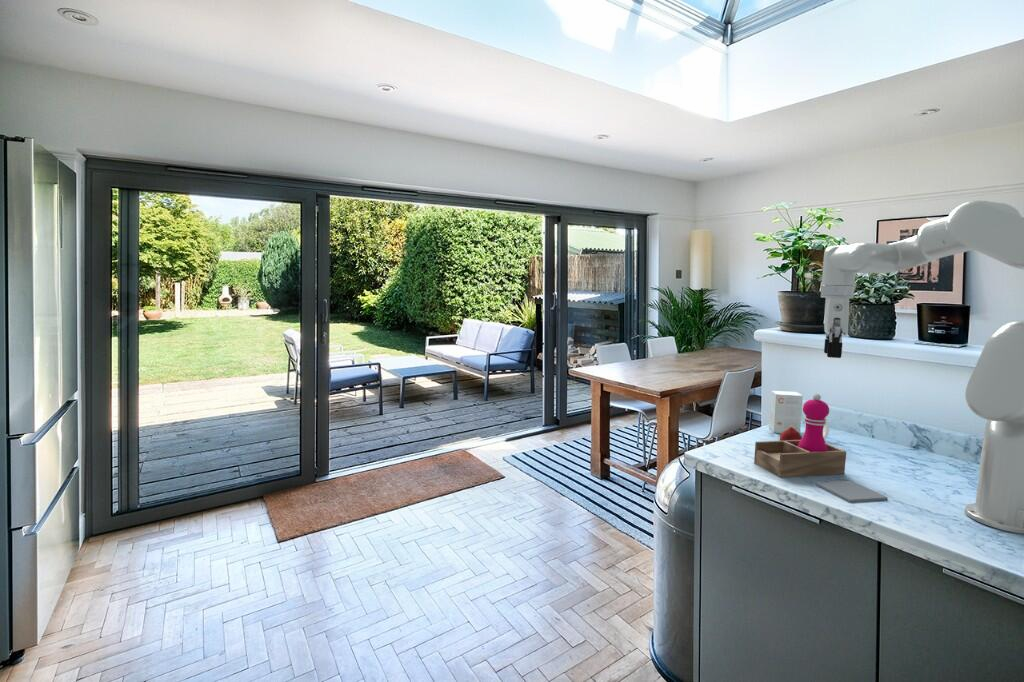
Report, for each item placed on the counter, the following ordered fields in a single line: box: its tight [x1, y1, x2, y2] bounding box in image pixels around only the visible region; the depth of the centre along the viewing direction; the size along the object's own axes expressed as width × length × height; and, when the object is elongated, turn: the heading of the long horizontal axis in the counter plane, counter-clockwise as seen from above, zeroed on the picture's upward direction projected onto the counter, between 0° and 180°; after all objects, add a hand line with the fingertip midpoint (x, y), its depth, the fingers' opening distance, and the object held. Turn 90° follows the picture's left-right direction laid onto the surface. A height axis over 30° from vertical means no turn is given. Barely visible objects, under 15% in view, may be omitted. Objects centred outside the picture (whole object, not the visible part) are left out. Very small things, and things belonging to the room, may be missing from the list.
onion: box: [779, 426, 803, 441], centre depth 150 cm, size 6×6×8 cm
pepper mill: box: [798, 393, 830, 452], centre depth 137 cm, size 7×7×20 cm
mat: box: [815, 480, 889, 503], centre depth 122 cm, size 10×10×1 cm
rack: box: [753, 440, 847, 478], centre depth 137 cm, size 11×18×6 cm, turn 100°
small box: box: [768, 390, 804, 435], centre depth 172 cm, size 8×6×13 cm
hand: (832, 355), depth 142 cm, fingers open, 9 cm apart
